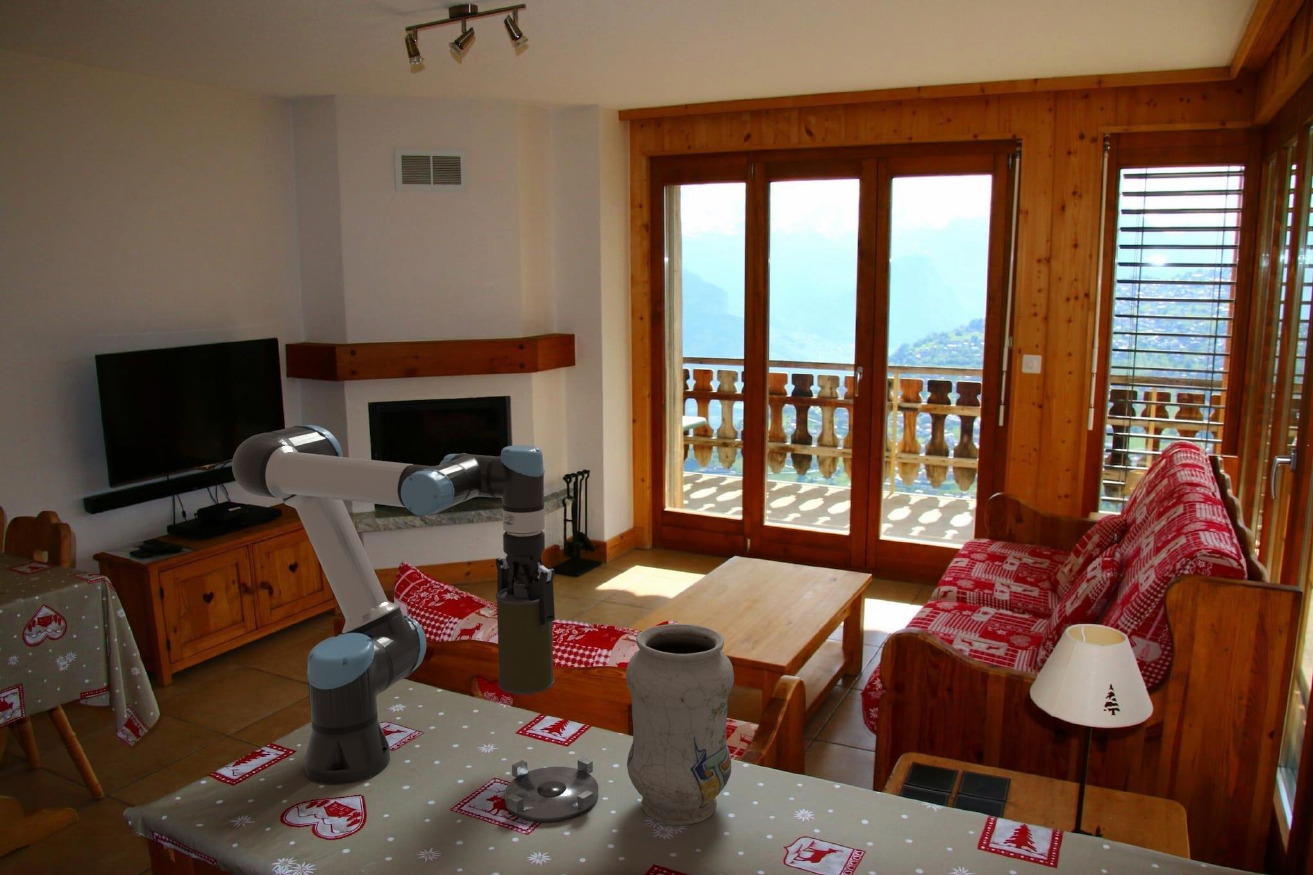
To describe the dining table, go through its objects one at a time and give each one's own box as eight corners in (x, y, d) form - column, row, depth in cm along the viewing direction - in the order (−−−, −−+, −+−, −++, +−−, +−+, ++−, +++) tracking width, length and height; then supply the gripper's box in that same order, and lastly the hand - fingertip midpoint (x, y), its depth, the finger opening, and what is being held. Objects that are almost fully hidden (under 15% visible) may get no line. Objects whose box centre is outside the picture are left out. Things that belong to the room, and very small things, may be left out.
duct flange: (478, 801, 164) (477, 782, 164) (554, 762, 177) (553, 744, 177) (549, 838, 153) (548, 818, 152) (624, 793, 166) (624, 774, 165)
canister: (544, 697, 172) (542, 589, 169) (489, 692, 174) (486, 586, 171) (562, 673, 182) (560, 572, 179) (510, 669, 184) (507, 568, 181)
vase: (749, 791, 166) (749, 626, 161) (711, 846, 150) (710, 664, 145) (655, 771, 174) (652, 612, 169) (609, 820, 157) (605, 647, 153)
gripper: (474, 526, 177) (477, 645, 180) (543, 544, 165) (546, 671, 168) (505, 519, 182) (508, 635, 186) (575, 535, 170) (576, 659, 174)
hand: (526, 652), depth 177 cm, fingers open, 6 cm apart
